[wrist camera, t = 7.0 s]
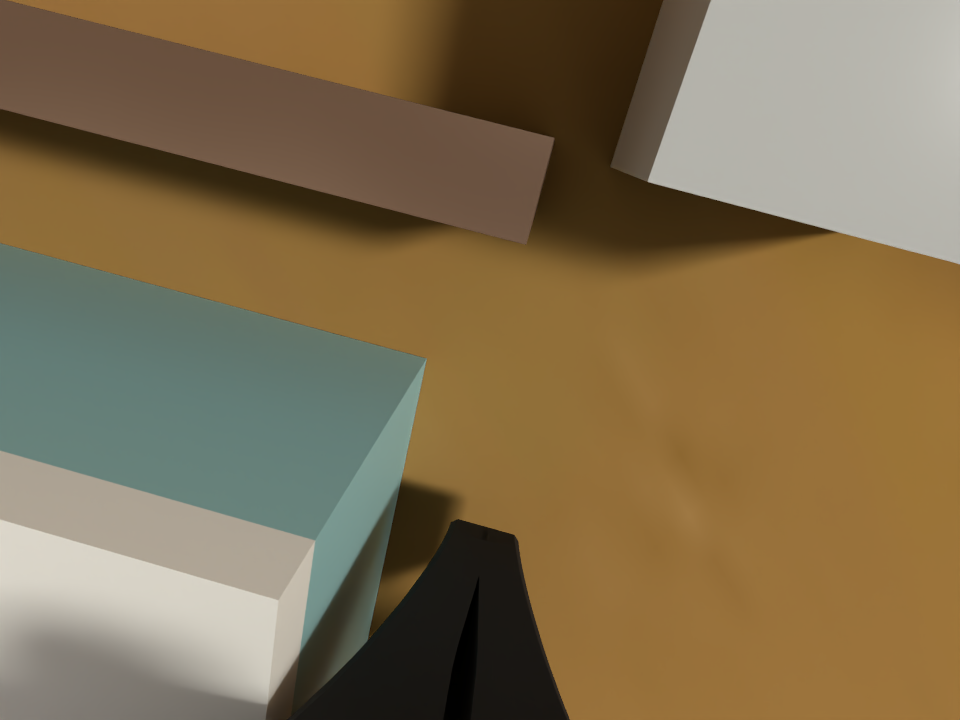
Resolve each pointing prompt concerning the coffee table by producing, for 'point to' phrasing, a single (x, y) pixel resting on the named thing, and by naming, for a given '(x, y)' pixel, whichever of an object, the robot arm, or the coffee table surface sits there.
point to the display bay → (272, 122)
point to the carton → (184, 498)
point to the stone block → (808, 113)
